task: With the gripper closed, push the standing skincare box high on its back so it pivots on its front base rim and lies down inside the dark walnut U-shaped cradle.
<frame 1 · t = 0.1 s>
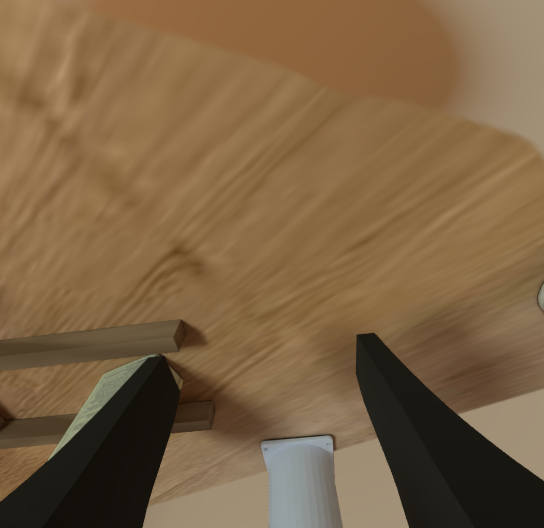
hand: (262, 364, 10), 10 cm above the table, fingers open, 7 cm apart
skincare box: (145, 373, 25), on the table
cradle: (78, 382, 25), on the table
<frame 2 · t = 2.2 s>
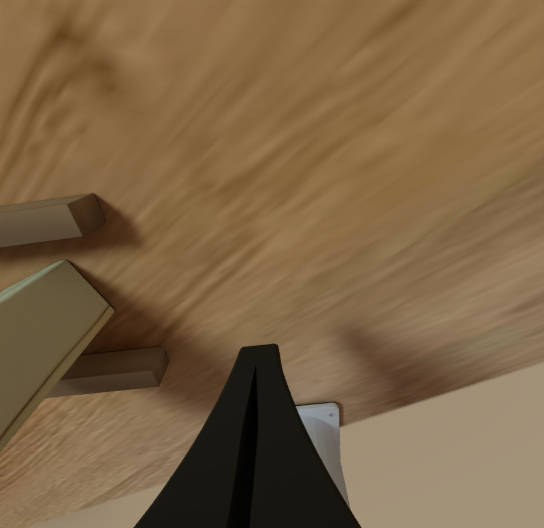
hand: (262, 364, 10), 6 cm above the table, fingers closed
skincare box: (57, 300, 17), on the table
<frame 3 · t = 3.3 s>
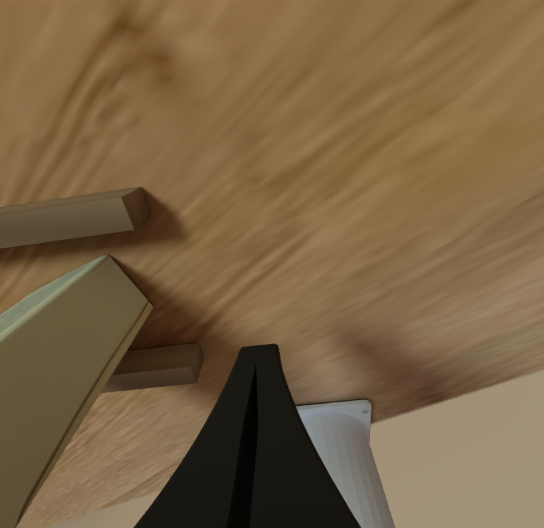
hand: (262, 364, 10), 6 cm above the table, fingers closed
skincare box: (96, 295, 17), on the table
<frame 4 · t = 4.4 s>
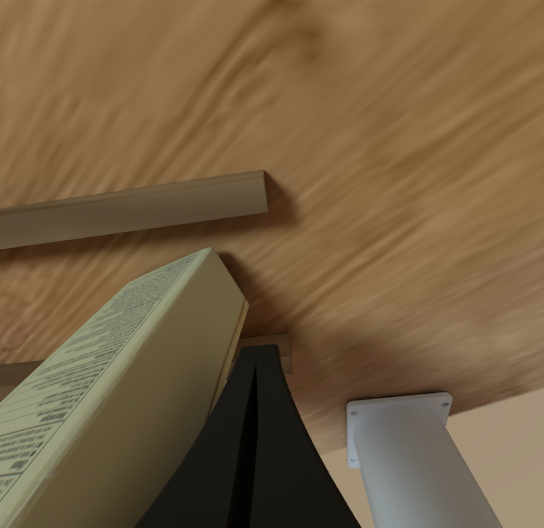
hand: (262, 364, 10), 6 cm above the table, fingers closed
skincare box: (191, 288, 16), on the table
cradle: (89, 299, 16), on the table
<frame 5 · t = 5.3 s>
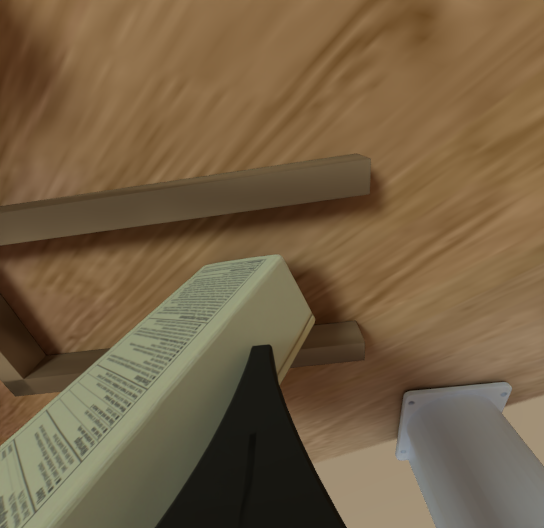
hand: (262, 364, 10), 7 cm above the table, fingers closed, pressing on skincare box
skincare box: (259, 285, 15), point 1 cm above the table, touching gripper
cradle: (163, 285, 17), on the table
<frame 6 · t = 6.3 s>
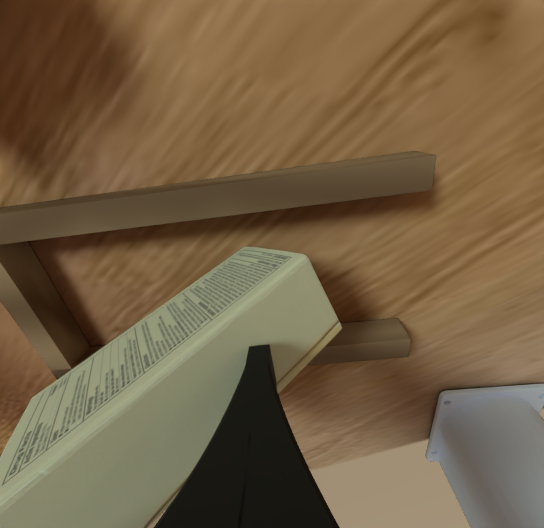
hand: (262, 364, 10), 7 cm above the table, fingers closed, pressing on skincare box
skincare box: (292, 277, 14), point 2 cm above the table, touching gripper
cradle: (212, 279, 17), on the table
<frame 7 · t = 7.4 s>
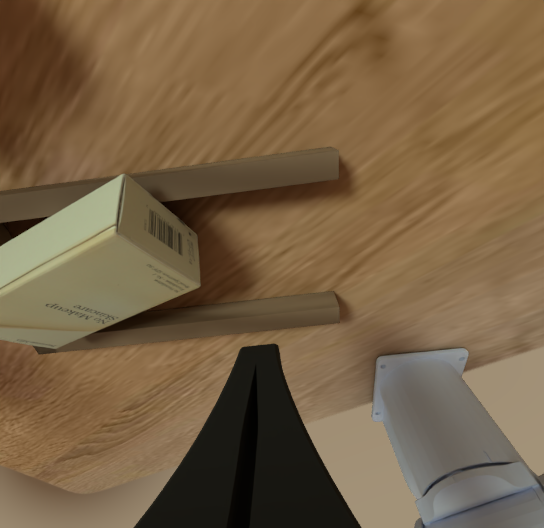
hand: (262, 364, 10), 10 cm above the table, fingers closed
skincare box: (169, 229, 15), point 4 cm above the table, touching cradle
cradle: (169, 258, 19), on the table
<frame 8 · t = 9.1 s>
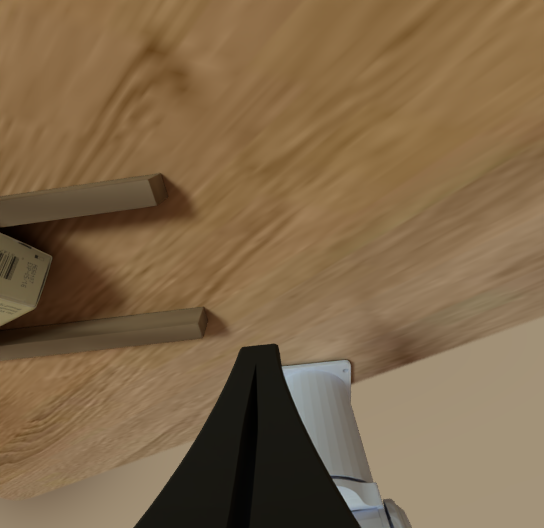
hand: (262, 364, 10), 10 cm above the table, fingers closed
cradle: (35, 277, 20), on the table
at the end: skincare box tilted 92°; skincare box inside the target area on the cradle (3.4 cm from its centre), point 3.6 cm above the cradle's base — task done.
